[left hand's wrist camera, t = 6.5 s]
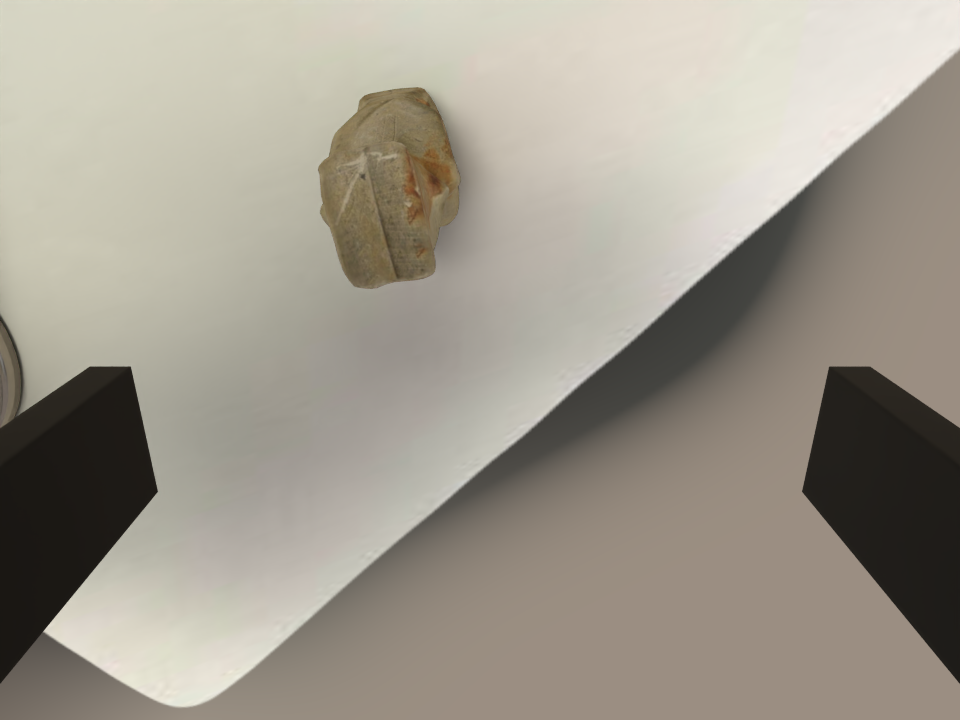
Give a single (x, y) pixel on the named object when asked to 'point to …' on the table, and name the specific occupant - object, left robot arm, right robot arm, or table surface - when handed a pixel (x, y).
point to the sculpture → (389, 188)
